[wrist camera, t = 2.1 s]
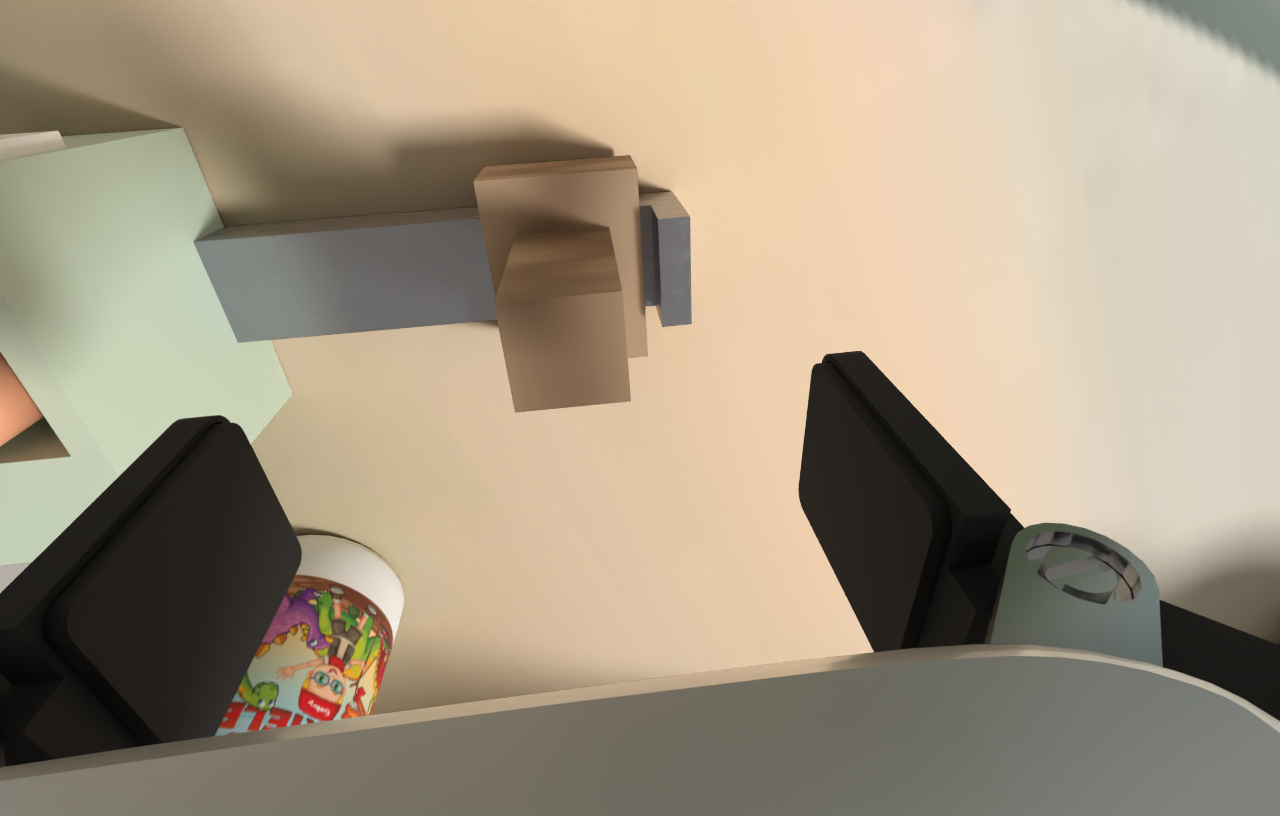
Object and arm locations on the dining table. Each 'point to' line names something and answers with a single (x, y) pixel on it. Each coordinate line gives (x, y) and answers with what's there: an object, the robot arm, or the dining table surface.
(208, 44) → the dining table surface
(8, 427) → the gauge plunger
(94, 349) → the cabinet
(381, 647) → the milk bottle
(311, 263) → the rail
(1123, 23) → the dining table surface
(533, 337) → the carriage
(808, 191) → the dining table surface
